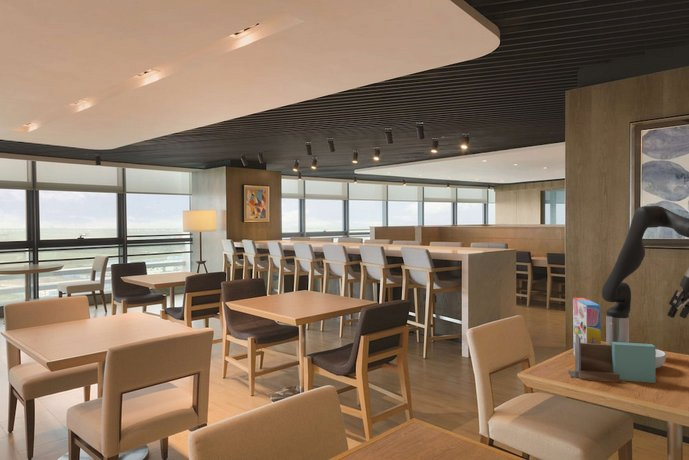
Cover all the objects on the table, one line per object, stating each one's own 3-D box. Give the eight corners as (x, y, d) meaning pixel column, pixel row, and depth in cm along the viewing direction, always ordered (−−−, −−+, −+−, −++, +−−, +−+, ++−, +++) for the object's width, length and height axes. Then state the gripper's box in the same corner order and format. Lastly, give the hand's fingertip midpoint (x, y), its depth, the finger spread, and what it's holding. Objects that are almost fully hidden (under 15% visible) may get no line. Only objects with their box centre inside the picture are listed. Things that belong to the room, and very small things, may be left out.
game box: (601, 369, 193) (600, 305, 193) (587, 369, 194) (586, 305, 194) (585, 355, 213) (585, 297, 213) (572, 355, 215) (572, 297, 214)
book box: (611, 376, 185) (611, 341, 185) (652, 379, 181) (652, 344, 180) (614, 379, 181) (614, 344, 181) (655, 382, 177) (655, 346, 177)
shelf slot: (575, 371, 192) (575, 342, 191) (612, 374, 187) (612, 344, 187) (579, 378, 182) (579, 348, 182) (619, 382, 178) (619, 351, 178)
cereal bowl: (618, 359, 207) (618, 343, 207) (662, 364, 199) (662, 348, 199) (620, 370, 192) (620, 353, 192) (668, 376, 184) (668, 358, 184)
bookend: (568, 371, 191) (567, 333, 191) (577, 372, 190) (577, 333, 190) (570, 377, 184) (570, 337, 184) (580, 377, 183) (580, 338, 183)
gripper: (695, 275, 175) (676, 312, 179) (676, 272, 168) (656, 311, 172) (717, 284, 169) (696, 322, 173) (697, 281, 162) (676, 321, 166)
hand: (676, 317), depth 173 cm, fingers open, 8 cm apart
